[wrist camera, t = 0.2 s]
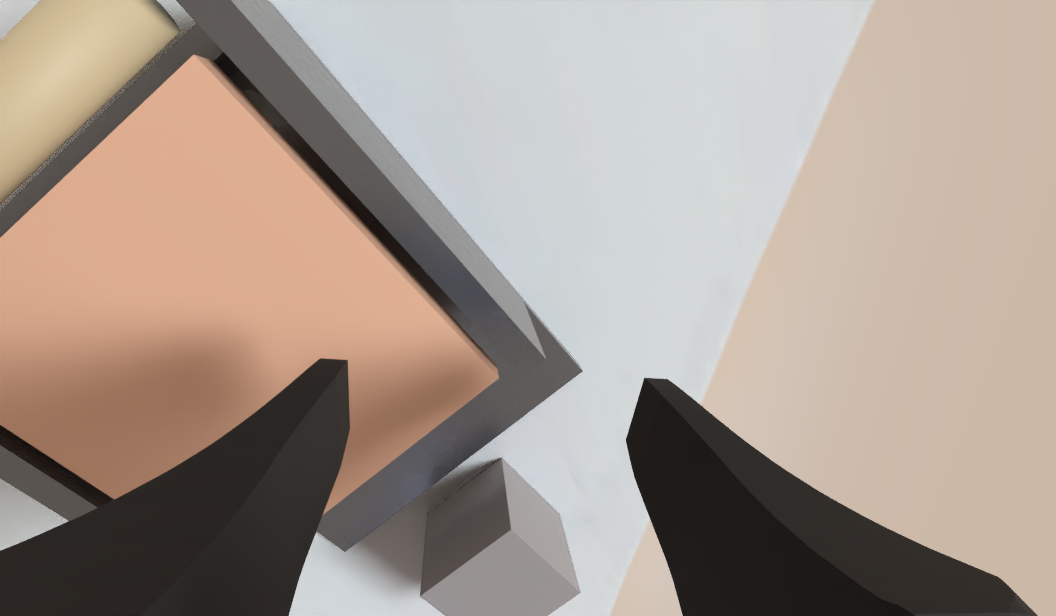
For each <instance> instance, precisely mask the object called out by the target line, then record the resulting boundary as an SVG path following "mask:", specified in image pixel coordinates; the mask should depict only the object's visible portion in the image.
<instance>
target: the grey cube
mask: <svg viewBox="0 0 1056 616" xmlns="http://www.w3.org/2000/svg"><path fill="white" fill-rule="evenodd" d="M579 593H580V589H579V585H578V581H577V578H576V574H575V570H574V566H573V563H572V559H571V555H570V551H569V548H568V544H567V540H566V536H565V533H564V529H563V525H562V521H561V518H560V514H559V513H558V512H557V511H556V510H555V509H554V508H553V507H552V506H551V505H550V504H549V503H548V502H547V501H546V500H545V499H544V498H543V497H542V496H541V495H540V494H539V493H538V492H537V491H536V490H535V489H534V488H532V487H531V486H530V485H529V484H528V483H527V482H526V481H525V480H524V479H523V478H522V477H521V476H520V475H519V474H518V473H517V472H516V471H515V470H514V469H513V468H512V467H511V466H510V465H509V464H508V463H507V462H506V461H505V460H504V459H503V458H500V459H499V460H498V461H496V462H495V463H494V464H492V465H491V466H490V467H488V468H487V469H486V470H484V471H483V472H482V473H480V474H479V475H478V476H476V477H475V478H474V479H472V480H471V481H470V482H468V483H467V484H466V485H464V486H463V487H462V488H460V489H459V490H458V491H456V492H455V493H454V494H452V495H451V496H450V497H448V498H447V499H446V500H444V501H443V502H442V503H440V504H439V505H438V506H436V507H435V508H434V509H432V510H431V511H430V512H428V513H427V522H426V533H425V545H424V556H423V568H422V579H421V591H420V597H422V598H423V599H424V600H426V601H427V602H428V603H429V604H431V605H432V606H433V607H435V608H436V609H437V610H439V611H440V612H441V613H443V614H444V615H445V616H548V615H549V614H551V613H552V612H553V611H555V610H556V609H558V608H559V607H561V606H562V605H563V604H565V603H566V602H568V601H569V600H571V599H572V598H573V597H575V596H576V595H578V594H579Z"/></svg>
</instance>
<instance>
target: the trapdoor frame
mask: <svg viewBox="0 0 1056 616" xmlns="http://www.w3.org/2000/svg"><path fill="white" fill-rule="evenodd" d="M176 1H177V2H178V3H179V4H180V5H181V6H182V7H183V8H184V9H185V11H186V12H187V13H188V14H189V15H190V16H191V17H192V18H193V19H194V20H195V21H196V22H197V24H196V25H195V26H194V27H192V28H191V29H190V30H189V31H188V32H187V33H186V34H185V35H184V36H183V37H182V38H181V39H180V40H179V41H178V42H177V43H176V44H175V45H174V46H173V47H172V48H171V49H170V50H168V51H167V52H166V53H165V54H164V55H163V56H162V57H161V58H160V59H159V60H158V61H157V62H156V63H155V64H154V65H153V66H152V67H151V68H150V69H149V70H148V71H147V72H145V73H144V74H143V75H142V76H141V77H140V78H139V79H138V80H137V81H136V82H135V83H134V84H133V85H132V86H131V87H130V88H129V89H128V90H127V91H126V92H125V93H124V94H122V95H121V96H120V97H119V98H118V99H117V100H116V101H115V102H114V103H113V104H112V105H111V106H110V107H109V108H108V109H107V110H106V111H105V112H104V113H103V114H102V115H101V116H99V117H98V118H97V119H96V120H95V121H94V122H93V123H92V124H91V125H90V126H89V127H88V128H87V129H86V130H85V131H84V132H83V133H82V134H81V135H80V136H79V137H78V138H76V139H75V140H74V141H73V142H72V143H71V144H70V145H69V146H68V147H67V148H66V149H65V150H64V151H63V152H62V153H61V154H60V155H59V156H58V157H57V158H56V159H55V160H53V161H52V162H51V163H50V164H49V165H48V166H47V167H46V168H45V169H44V170H43V171H42V172H41V173H40V174H39V175H38V176H37V177H36V178H35V179H34V180H33V181H32V182H30V183H29V184H28V185H27V186H26V187H25V188H24V189H23V190H22V191H21V192H20V193H19V194H18V195H17V196H16V197H15V198H14V199H13V200H12V201H11V202H10V203H9V204H7V205H6V206H5V207H4V208H3V209H2V210H1V211H0V238H1V237H2V236H3V235H4V234H5V233H6V232H7V231H8V230H9V229H10V228H11V227H12V226H13V225H14V224H15V223H16V222H18V221H19V220H20V219H21V218H22V217H23V216H24V215H25V214H26V213H27V212H28V211H29V210H30V209H31V208H32V207H33V206H34V205H35V204H37V203H38V202H39V201H40V200H41V199H42V198H43V197H44V196H45V195H46V194H47V193H48V192H49V191H50V190H51V189H52V188H53V187H54V186H56V185H57V184H58V183H59V182H60V181H61V180H62V179H63V178H64V177H65V176H66V175H67V174H68V173H69V172H70V171H71V170H72V169H73V168H74V167H76V166H77V165H78V164H79V163H80V162H81V161H82V160H83V159H84V158H85V157H86V156H87V155H88V154H89V153H90V152H91V151H92V150H93V149H95V148H96V147H97V146H98V145H99V144H100V143H101V142H102V141H103V140H104V139H105V138H106V137H107V136H108V135H109V134H110V133H111V132H112V131H114V130H115V129H116V128H117V127H118V126H119V125H120V124H121V123H122V122H123V121H124V120H125V119H126V118H127V117H128V116H129V115H130V114H131V113H133V112H134V111H135V110H136V109H137V108H138V107H139V106H140V105H141V104H142V103H143V102H144V101H145V100H146V99H147V98H148V97H149V96H150V95H152V94H153V93H154V92H155V91H156V90H157V89H158V88H159V87H160V86H161V85H162V84H163V83H164V82H165V81H166V80H167V79H168V78H169V77H170V76H172V75H173V74H174V73H175V72H176V71H177V70H178V69H179V68H180V67H181V66H182V65H183V64H184V63H185V62H186V61H187V60H188V59H189V58H191V57H192V56H193V55H197V56H200V57H203V58H207V59H210V60H213V61H214V62H215V63H216V64H217V66H218V67H219V68H220V69H221V70H222V71H223V72H224V73H225V74H226V75H227V76H228V77H229V78H230V79H231V81H232V82H233V83H234V84H235V85H236V86H237V87H238V88H239V89H240V90H241V91H242V92H243V93H244V94H245V96H246V97H247V98H248V99H249V100H250V101H251V102H252V103H253V104H254V105H255V106H256V107H257V108H258V109H259V111H260V112H261V113H262V114H263V115H264V116H265V117H266V118H267V119H268V120H269V121H270V122H271V123H272V124H273V126H274V127H275V128H276V129H277V130H278V131H279V132H280V133H281V134H282V135H283V136H284V137H285V138H286V139H287V141H288V142H289V143H290V144H291V145H292V146H293V147H294V148H295V149H296V150H297V151H298V152H299V153H300V154H301V156H302V157H303V158H304V159H305V160H306V161H307V162H308V163H309V164H310V165H311V166H312V167H313V168H314V169H315V171H316V172H317V173H318V174H319V175H320V176H321V177H322V178H323V179H324V180H325V181H326V182H327V183H328V184H329V186H330V187H331V188H332V189H333V190H334V191H335V192H336V193H337V194H338V195H339V196H340V197H341V198H342V199H343V201H344V202H345V203H346V204H347V205H348V206H349V207H350V208H351V209H352V210H353V211H354V212H355V213H356V214H357V216H358V217H359V218H360V219H361V220H362V221H363V222H364V223H365V224H366V225H367V226H368V227H369V228H370V229H371V231H372V232H373V233H374V234H375V235H376V236H377V237H378V238H379V239H380V240H381V241H382V242H383V243H384V244H385V246H386V247H387V248H388V249H389V250H390V251H391V252H392V253H393V254H394V255H395V256H396V257H397V258H398V259H399V261H400V262H401V263H402V264H403V265H404V266H405V267H406V268H407V269H408V270H409V271H410V272H411V273H412V274H413V276H414V277H415V278H416V279H417V280H418V281H419V282H420V283H421V284H422V285H423V286H424V287H425V288H426V289H427V291H428V292H429V293H430V294H431V295H432V296H433V297H434V298H435V299H436V300H437V301H438V302H439V303H440V304H441V306H442V307H443V308H444V309H445V310H446V311H447V312H448V313H449V314H450V315H451V316H452V317H453V318H454V319H455V321H456V322H457V323H458V324H459V325H460V326H461V327H462V328H463V329H464V330H465V331H466V332H467V333H468V334H469V336H470V337H471V338H472V339H473V340H474V341H475V342H476V343H477V344H478V345H479V346H480V347H481V348H482V349H483V351H484V352H485V353H486V354H487V355H488V356H489V357H490V358H491V359H492V360H493V361H494V362H495V363H496V364H497V368H498V374H499V379H497V380H496V381H495V382H494V383H492V384H491V385H490V386H488V387H487V388H486V389H485V390H483V391H482V392H481V393H479V394H478V395H477V396H476V397H474V398H473V399H472V400H470V401H469V402H468V403H467V404H465V405H464V406H463V407H461V408H460V409H459V410H457V411H456V412H455V413H454V414H452V415H451V416H450V417H448V418H447V419H446V420H445V421H443V422H442V423H441V424H439V425H438V426H437V427H436V428H434V429H433V430H432V431H430V432H429V433H428V434H427V435H425V436H424V437H423V438H421V439H420V440H419V441H418V442H416V443H415V444H414V445H412V446H411V447H410V448H409V449H407V450H406V451H405V452H403V453H402V454H401V455H399V456H398V457H397V458H396V459H394V460H393V461H392V462H390V463H389V464H388V465H387V466H385V467H384V468H383V469H381V470H380V471H379V472H378V473H376V474H375V475H374V476H372V477H371V478H370V479H369V480H367V481H366V482H365V483H363V484H362V485H361V486H360V487H358V488H357V489H356V490H354V491H353V492H352V493H351V494H349V495H348V496H347V497H345V498H344V499H343V500H341V501H340V502H339V503H338V504H336V505H335V506H334V507H332V508H331V509H330V510H329V511H327V512H326V513H325V514H323V515H322V518H321V520H320V523H319V526H318V528H317V531H318V532H319V533H320V534H322V535H323V536H324V537H326V538H327V539H328V540H330V541H331V542H332V543H334V544H335V545H336V546H338V547H339V548H340V549H342V550H343V551H344V552H345V551H347V550H348V549H349V548H351V547H352V546H353V545H355V544H356V543H357V542H358V541H360V540H361V539H362V538H364V537H365V536H366V535H368V534H369V533H370V532H372V531H373V530H374V529H376V528H377V527H378V526H380V525H381V524H382V523H383V522H385V521H386V520H387V519H389V518H390V517H391V516H393V515H394V514H395V513H397V512H398V511H399V510H401V509H402V508H403V507H405V506H406V505H407V504H408V503H410V502H411V501H412V500H414V499H415V498H416V497H418V496H419V495H420V494H422V493H423V492H424V491H426V490H427V489H428V488H430V487H431V486H432V485H433V484H435V483H436V482H437V481H439V480H440V479H441V478H443V477H444V476H445V475H447V474H448V473H449V472H451V471H452V470H453V469H455V468H456V467H457V466H458V465H460V464H461V463H462V462H464V461H465V460H466V459H468V458H469V457H470V456H472V455H473V454H474V453H476V452H477V451H478V450H480V449H481V448H482V447H483V446H485V445H486V444H487V443H489V442H490V441H491V440H493V439H494V438H495V437H497V436H498V435H499V434H501V433H502V432H503V431H505V430H506V429H507V428H508V427H510V426H511V425H512V424H514V423H515V422H516V421H518V420H519V419H520V418H522V417H523V416H524V415H526V414H527V413H528V412H529V411H531V410H532V409H533V408H535V407H536V406H537V405H539V404H540V403H541V402H543V401H544V400H545V399H547V398H548V397H549V396H551V395H552V394H553V393H554V392H556V391H557V390H558V389H560V388H561V387H562V386H564V385H565V384H566V383H568V382H569V381H570V380H572V379H573V378H574V377H576V376H577V375H578V374H579V373H581V372H582V369H581V367H580V365H579V364H578V363H577V362H576V361H575V360H574V358H573V357H572V356H571V355H570V354H569V352H568V351H567V350H566V349H565V348H564V347H563V345H562V344H561V343H560V342H559V341H558V340H557V338H556V337H555V336H554V335H553V334H552V332H551V331H550V330H549V329H548V328H547V327H546V325H545V324H544V323H543V322H542V321H541V320H540V318H539V317H538V316H537V315H536V314H535V312H534V311H533V310H532V309H531V308H530V307H529V305H528V304H527V303H526V302H525V301H524V300H523V298H522V297H521V296H520V295H519V294H518V292H517V291H516V290H515V289H514V288H513V287H512V285H511V284H510V283H509V282H508V281H507V280H506V278H505V277H504V276H503V275H502V274H501V272H500V271H499V270H498V269H497V268H496V267H495V265H494V264H493V263H492V262H491V261H490V260H489V258H488V257H487V256H486V255H485V254H484V252H483V251H482V250H481V249H480V248H479V247H478V245H477V244H476V243H475V242H474V241H473V240H472V238H471V237H470V236H469V235H468V234H467V232H466V231H465V230H464V229H463V228H462V227H461V225H460V224H459V223H458V222H457V221H456V220H455V218H454V217H453V216H452V215H451V214H450V212H449V211H448V210H447V209H446V208H445V207H444V205H443V204H442V203H441V202H440V201H439V200H438V198H437V197H436V196H435V195H434V194H433V192H432V191H431V190H430V189H429V188H428V187H427V185H426V184H425V183H424V182H423V181H422V180H421V178H420V177H419V176H418V175H417V174H416V172H415V171H414V170H413V169H412V168H411V167H410V165H409V164H408V163H407V162H406V161H405V160H404V158H403V157H402V156H401V155H400V154H399V153H398V151H397V150H396V149H395V148H394V147H393V145H392V144H391V143H390V142H389V141H388V140H387V138H386V137H385V136H384V135H383V134H382V133H381V131H380V130H379V129H378V128H377V127H376V125H375V124H374V123H373V122H372V121H371V120H370V118H369V117H368V116H367V115H366V114H365V113H364V111H363V110H362V109H361V108H360V107H359V105H358V104H357V103H356V102H355V101H354V100H353V98H352V97H351V96H350V95H349V94H348V93H347V91H346V90H345V89H344V88H343V87H342V85H341V84H340V83H339V82H338V81H337V80H336V78H335V77H334V76H333V75H332V74H331V73H330V71H329V70H328V69H327V68H326V67H325V65H324V64H323V63H322V62H321V61H320V60H319V58H318V57H317V56H316V55H315V54H314V53H313V51H312V50H311V49H310V48H309V47H308V45H307V44H306V43H305V42H304V41H303V40H302V38H301V37H300V36H299V35H298V34H297V33H296V31H295V30H294V29H293V28H292V27H291V25H290V24H289V23H288V22H287V21H286V20H285V18H284V17H283V16H282V15H281V14H280V13H279V11H278V10H277V9H276V8H275V7H274V5H273V4H272V3H271V2H269V1H268V0H176ZM0 478H1V479H2V480H4V481H6V482H7V483H9V484H11V485H12V486H14V487H15V488H17V489H19V490H20V491H22V492H24V493H25V494H27V495H28V496H30V497H32V498H33V499H35V500H36V501H38V502H40V503H41V504H43V505H45V506H46V507H48V508H49V509H51V510H53V511H54V512H56V513H58V514H59V515H61V516H62V517H64V518H66V519H67V520H69V521H71V520H73V519H75V518H78V517H80V516H82V515H84V514H86V513H88V512H90V511H92V510H94V509H96V508H98V507H101V506H103V505H105V504H107V503H109V502H111V501H113V500H114V499H113V498H111V497H110V496H108V495H107V494H105V493H104V492H102V491H101V490H99V489H98V488H96V487H95V486H93V485H92V484H90V483H88V482H87V481H85V480H84V479H82V478H81V477H79V476H78V475H76V474H75V473H73V472H72V471H70V470H69V469H67V468H66V467H64V466H63V465H61V464H59V463H58V462H56V461H55V460H53V459H52V458H50V457H49V456H47V455H46V454H44V453H43V452H41V451H40V450H38V449H37V448H35V447H34V446H32V445H30V444H29V443H27V442H26V441H24V440H23V439H21V438H20V437H18V436H17V435H15V434H14V433H12V432H11V431H9V430H8V429H6V428H5V427H3V426H1V425H0Z"/></svg>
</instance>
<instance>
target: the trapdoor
mask: <svg viewBox="0 0 1056 616" xmlns="http://www.w3.org/2000/svg"><path fill="white" fill-rule="evenodd" d="M178 33H179V28H178V26H177V24H176V23H175V21H174V20H173V18H172V17H171V16H170V15H169V13H168V12H167V11H166V10H165V9H164V8H163V7H162V6H161V4H160V3H159V2H158V1H157V0H41V1H40V2H39V3H38V4H37V5H36V6H35V7H34V8H33V9H32V10H31V11H30V12H29V13H28V14H27V15H26V16H25V17H24V18H23V19H22V20H21V21H20V22H19V23H18V24H17V25H16V26H15V27H14V28H13V29H12V30H11V31H10V32H9V33H8V34H7V35H6V36H5V37H4V38H3V39H2V40H1V41H0V204H1V203H2V202H3V201H4V200H5V199H6V198H7V197H8V196H9V195H10V194H11V193H12V192H13V191H14V190H16V189H17V188H18V187H19V186H20V185H21V184H22V183H23V182H24V181H25V180H26V179H27V178H28V177H29V176H30V175H31V174H32V173H33V172H34V171H35V170H36V169H37V168H38V167H40V166H41V165H42V164H43V163H44V162H45V161H46V160H47V159H48V158H49V157H50V156H51V155H52V154H53V153H54V152H55V151H56V150H57V149H58V148H59V147H60V146H61V145H62V144H63V143H65V142H66V141H67V140H68V139H69V138H70V137H71V136H72V135H73V134H74V133H75V132H76V131H77V130H78V129H79V128H80V127H81V126H82V125H83V124H84V123H85V122H86V121H87V120H89V119H90V118H91V117H92V116H93V115H94V114H95V113H96V112H97V111H98V110H99V109H100V108H101V107H102V106H103V105H104V104H105V103H106V102H107V101H108V100H109V99H110V98H111V97H113V96H114V95H115V94H116V93H117V92H118V91H119V90H120V89H121V88H122V87H123V86H124V85H125V84H126V83H127V82H128V81H129V80H130V79H131V78H132V77H133V76H134V75H135V74H136V73H138V72H139V71H140V70H141V69H142V68H143V67H144V66H145V65H146V64H147V63H148V62H149V61H150V60H151V59H152V58H153V57H154V56H155V55H156V54H157V53H158V52H159V51H160V50H162V49H163V48H164V47H165V46H166V45H167V44H168V43H169V42H170V41H171V40H172V39H173V38H174V37H175V36H176V35H177V34H178ZM320 358H324V359H340V360H348V382H349V413H350V431H349V435H348V439H347V444H346V448H345V452H344V456H343V460H342V464H341V468H340V471H339V473H338V476H337V479H336V481H335V484H334V487H333V489H332V492H331V494H330V497H329V500H328V502H327V505H326V507H325V510H324V513H323V514H325V513H326V512H327V511H329V510H330V509H331V508H332V507H334V506H335V505H336V504H338V503H339V502H340V501H341V500H343V499H344V498H345V497H347V496H348V495H349V494H351V493H352V492H353V491H354V490H356V489H357V488H358V487H360V486H361V485H362V484H363V483H365V482H366V481H367V480H369V479H370V478H371V477H372V476H374V475H375V474H376V473H378V472H379V471H380V470H381V469H383V468H384V467H385V466H387V465H388V464H389V463H390V462H392V461H393V460H394V459H396V458H397V457H398V456H399V455H401V454H402V453H403V452H405V451H406V450H407V449H409V448H410V447H411V446H412V445H414V444H415V443H416V442H418V441H419V440H420V439H421V438H423V437H424V436H425V435H427V434H428V433H429V432H430V431H432V430H433V429H434V428H436V427H437V426H438V425H439V424H441V423H442V422H443V421H445V420H446V419H447V418H448V417H450V416H451V415H452V414H454V413H455V412H456V411H457V410H459V409H460V408H461V407H463V406H464V405H465V404H467V403H468V402H469V401H470V400H472V399H473V398H474V397H476V396H477V395H478V394H479V393H481V392H482V391H483V390H485V389H486V388H487V387H488V386H490V385H491V384H492V383H494V382H495V381H496V380H497V379H499V374H498V368H497V364H496V363H495V362H494V361H493V360H492V359H491V358H490V357H489V356H488V355H487V354H486V353H485V352H484V351H483V349H482V348H481V347H480V346H479V345H478V344H477V343H476V342H475V341H474V340H473V339H472V338H471V337H470V336H469V334H468V333H467V332H466V331H465V330H464V329H463V328H462V327H461V326H460V325H459V324H458V323H457V322H456V321H455V319H454V318H453V317H452V316H451V315H450V314H449V313H448V312H447V311H446V310H445V309H444V308H443V307H442V306H441V304H440V303H439V302H438V301H437V300H436V299H435V298H434V297H433V296H432V295H431V294H430V293H429V292H428V291H427V289H426V288H425V287H424V286H423V285H422V284H421V283H420V282H419V281H418V280H417V279H416V278H415V277H414V276H413V274H412V273H411V272H410V271H409V270H408V269H407V268H406V267H405V266H404V265H403V264H402V263H401V262H400V261H399V259H398V258H397V257H396V256H395V255H394V254H393V253H392V252H391V251H390V250H389V249H388V248H387V247H386V246H385V244H384V243H383V242H382V241H381V240H380V239H379V238H378V237H377V236H376V235H375V234H374V233H373V232H372V231H371V229H370V228H369V227H368V226H367V225H366V224H365V223H364V222H363V221H362V220H361V219H360V218H359V217H358V216H357V214H356V213H355V212H354V211H353V210H352V209H351V208H350V207H349V206H348V205H347V204H346V203H345V202H344V201H343V199H342V198H341V197H340V196H339V195H338V194H337V193H336V192H335V191H334V190H333V189H332V188H331V187H330V186H329V184H328V183H327V182H326V181H325V180H324V179H323V178H322V177H321V176H320V175H319V174H318V173H317V172H316V171H315V169H314V168H313V167H312V166H311V165H310V164H309V163H308V162H307V161H306V160H305V159H304V158H303V157H302V156H301V154H300V153H299V152H298V151H297V150H296V149H295V148H294V147H293V146H292V145H291V144H290V143H289V142H288V141H287V139H286V138H285V137H284V136H283V135H282V134H281V133H280V132H279V131H278V130H277V129H276V128H275V127H274V126H273V124H272V123H271V122H270V121H269V120H268V119H267V118H266V117H265V116H264V115H263V114H262V113H261V112H260V111H259V109H258V108H257V107H256V106H255V105H254V104H253V103H252V102H251V101H250V100H249V99H248V98H247V97H246V96H245V94H244V93H243V92H242V91H241V90H240V89H239V88H238V87H237V86H236V85H235V84H234V83H233V82H232V81H231V79H230V78H229V77H228V76H227V75H226V74H225V73H224V72H223V71H222V70H221V69H220V68H219V67H218V66H217V64H216V63H215V62H214V61H213V60H210V59H207V58H203V57H200V56H197V55H193V56H192V57H191V58H189V59H188V60H187V61H186V62H185V63H184V64H183V65H182V66H181V67H180V68H179V69H178V70H177V71H176V72H175V73H174V74H173V75H172V76H170V77H169V78H168V79H167V80H166V81H165V82H164V83H163V84H162V85H161V86H160V87H159V88H158V89H157V90H156V91H155V92H154V93H153V94H152V95H150V96H149V97H148V98H147V99H146V100H145V101H144V102H143V103H142V104H141V105H140V106H139V107H138V108H137V109H136V110H135V111H134V112H133V113H131V114H130V115H129V116H128V117H127V118H126V119H125V120H124V121H123V122H122V123H121V124H120V125H119V126H118V127H117V128H116V129H115V130H114V131H112V132H111V133H110V134H109V135H108V136H107V137H106V138H105V139H104V140H103V141H102V142H101V143H100V144H99V145H98V146H97V147H96V148H95V149H93V150H92V151H91V152H90V153H89V154H88V155H87V156H86V157H85V158H84V159H83V160H82V161H81V162H80V163H79V164H78V165H77V166H76V167H74V168H73V169H72V170H71V171H70V172H69V173H68V174H67V175H66V176H65V177H64V178H63V179H62V180H61V181H60V182H59V183H58V184H57V185H56V186H54V187H53V188H52V189H51V190H50V191H49V192H48V193H47V194H46V195H45V196H44V197H43V198H42V199H41V200H40V201H39V202H38V203H37V204H35V205H34V206H33V207H32V208H31V209H30V210H29V211H28V212H27V213H26V214H25V215H24V216H23V217H22V218H21V219H20V220H19V221H18V222H16V223H15V224H14V225H13V226H12V227H11V228H10V229H9V230H8V231H7V232H6V233H5V234H4V235H3V236H2V237H1V238H0V425H1V426H3V427H5V428H6V429H8V430H9V431H11V432H12V433H14V434H15V435H17V436H18V437H20V438H21V439H23V440H24V441H26V442H27V443H29V444H30V445H32V446H34V447H35V448H37V449H38V450H40V451H41V452H43V453H44V454H46V455H47V456H49V457H50V458H52V459H53V460H55V461H56V462H58V463H59V464H61V465H63V466H64V467H66V468H67V469H69V470H70V471H72V472H73V473H75V474H76V475H78V476H79V477H81V478H82V479H84V480H85V481H87V482H88V483H90V484H92V485H93V486H95V487H96V488H98V489H99V490H101V491H102V492H104V493H105V494H107V495H108V496H110V497H111V498H113V499H114V500H115V499H116V498H118V497H120V496H122V495H124V494H126V493H128V492H130V491H131V490H133V489H135V488H137V487H139V486H141V485H143V484H144V483H146V482H148V481H150V480H152V479H154V478H156V477H158V476H159V475H161V474H163V473H165V472H167V471H168V470H170V469H172V468H174V467H175V466H177V465H179V464H180V463H182V462H183V461H185V460H187V459H188V458H190V457H192V456H193V455H195V454H197V453H198V452H200V451H201V450H203V449H204V448H206V447H207V446H209V445H211V444H212V443H214V442H215V441H217V440H218V439H219V438H221V437H222V436H224V435H225V434H226V433H228V432H229V431H231V430H232V429H233V428H235V427H236V426H237V425H239V424H240V423H241V422H243V421H244V420H246V419H247V418H248V417H250V416H251V415H252V414H254V413H255V412H256V411H257V410H259V409H260V408H261V407H262V406H264V405H265V404H266V403H267V402H269V401H270V400H271V399H272V398H273V397H275V396H276V395H277V394H278V393H280V392H281V391H282V390H283V389H284V388H286V387H287V386H288V385H289V384H290V383H291V382H293V381H294V380H295V379H296V378H297V377H298V376H300V375H301V374H302V373H303V372H304V371H305V370H307V369H308V368H309V367H310V366H311V365H313V364H314V363H315V362H316V361H317V360H319V359H320Z"/></svg>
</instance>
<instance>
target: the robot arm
mask: <svg viewBox="0 0 1056 616" xmlns="http://www.w3.org/2000/svg"><path fill="white" fill-rule="evenodd" d="M349 431H350V413H349V382H348V360H340V359H324V358H320V359H319V360H317V361H316V362H315V363H314V364H313V365H311V366H310V367H309V368H308V369H307V370H305V371H304V372H303V373H302V374H301V375H300V376H298V377H297V378H296V379H295V380H294V381H293V382H291V383H290V384H289V385H288V386H287V387H286V388H284V389H283V390H282V391H281V392H280V393H278V394H277V395H276V396H275V397H273V398H272V399H271V400H270V401H269V402H267V403H266V404H265V405H264V406H262V407H261V408H260V409H259V410H257V411H256V412H255V413H254V414H252V415H251V416H250V417H248V418H247V419H246V420H244V421H243V422H241V423H240V424H239V425H237V426H236V427H235V428H233V429H232V430H231V431H229V432H228V433H226V434H225V435H224V436H222V437H221V438H219V439H218V440H217V441H215V442H214V443H212V444H211V445H209V446H207V447H206V448H204V449H203V450H201V451H200V452H198V453H197V454H195V455H193V456H192V457H190V458H188V459H187V460H185V461H183V462H182V463H180V464H179V465H177V466H175V467H174V468H172V469H170V470H168V471H167V472H165V473H163V474H161V475H159V476H158V477H156V478H154V479H152V480H150V481H148V482H146V483H144V484H143V485H141V486H139V487H137V488H135V489H133V490H131V491H130V492H128V493H126V494H124V495H122V496H120V497H118V498H116V499H115V500H113V501H111V502H109V503H107V504H105V505H103V506H101V507H98V508H96V509H94V510H92V511H90V512H88V513H86V514H84V515H82V516H80V517H78V518H75V519H73V520H71V521H69V522H67V523H64V524H62V525H60V526H58V527H55V528H53V529H51V530H49V531H47V532H44V533H42V534H40V535H38V536H35V537H33V538H31V539H28V540H26V541H23V542H21V543H19V544H16V545H14V546H11V547H9V548H6V549H4V550H1V551H0V616H289V612H290V608H291V605H292V601H293V598H294V594H295V590H296V587H297V583H298V580H299V577H300V574H301V571H302V568H303V565H304V562H305V559H306V557H307V554H308V551H309V549H310V546H311V544H312V541H313V538H314V536H315V533H316V531H317V528H318V526H319V523H320V520H321V518H322V515H323V513H324V510H325V507H326V505H327V502H328V500H329V497H330V494H331V492H332V489H333V487H334V484H335V481H336V479H337V476H338V473H339V471H340V468H341V464H342V460H343V456H344V452H345V448H346V444H347V439H348V435H349ZM626 443H627V447H628V452H629V456H630V461H631V465H632V469H633V473H634V477H635V480H636V482H637V485H638V488H639V490H640V493H641V496H642V498H643V501H644V504H645V506H646V509H647V512H648V514H649V517H650V519H651V522H652V524H653V527H654V529H655V532H656V534H657V537H658V540H659V542H660V545H661V548H662V550H663V553H664V555H665V558H666V561H667V564H668V566H669V569H670V572H671V575H672V578H673V581H674V585H675V589H676V592H677V596H678V600H679V603H680V607H681V611H682V614H683V616H1037V615H1036V614H1035V613H1034V612H1033V610H1032V609H1031V608H1029V606H1027V604H1026V603H1025V602H1024V601H1023V600H1022V599H1021V598H1020V597H1019V596H1018V595H1017V594H1016V593H1015V592H1014V591H1013V590H1012V589H1011V588H1010V587H1009V586H1008V585H1007V584H1006V583H1005V582H1003V581H1002V580H1001V579H1000V578H999V577H997V576H994V575H992V574H990V573H987V572H984V571H982V570H980V569H978V568H975V567H973V566H970V565H968V564H966V563H963V562H961V561H958V560H956V559H953V558H951V557H949V556H946V555H944V554H941V553H939V552H937V551H934V550H932V549H930V548H927V547H925V546H923V545H921V544H919V543H917V542H915V541H913V540H910V539H908V538H906V537H904V536H902V535H900V534H898V533H896V532H894V531H891V530H889V529H887V528H885V527H883V526H881V525H879V524H877V523H875V522H873V521H872V520H869V519H868V518H866V517H864V516H862V515H860V514H858V513H856V512H855V511H853V510H851V509H849V508H847V507H846V506H844V505H842V504H840V503H838V502H837V501H834V500H833V499H831V498H829V497H828V496H826V495H824V494H823V493H821V492H819V491H817V490H816V489H814V488H812V487H811V486H810V485H808V484H806V483H805V482H803V481H802V480H800V479H799V478H797V477H795V476H794V475H792V474H791V473H789V472H787V471H786V470H785V469H783V468H782V467H780V466H779V465H777V464H776V463H774V462H773V461H771V460H770V459H769V458H767V457H766V456H765V455H763V454H762V453H760V452H759V451H758V450H756V449H755V448H754V447H752V446H751V445H749V444H748V443H747V442H745V441H744V440H743V439H742V438H740V437H739V436H738V435H736V434H735V433H734V432H733V431H731V430H730V429H729V428H728V427H726V426H725V425H724V424H723V423H721V422H720V421H719V420H718V419H717V418H715V417H714V416H713V415H712V414H710V413H709V412H708V411H707V410H706V409H704V408H703V407H702V406H701V405H700V404H698V403H697V402H696V401H695V400H693V399H692V398H691V397H690V396H689V395H687V394H686V393H685V392H684V391H682V390H681V389H680V388H679V387H677V386H676V385H675V384H673V383H672V382H670V381H669V380H668V379H653V378H644V381H643V385H642V388H641V391H640V395H639V398H638V401H637V405H636V408H635V411H634V415H633V418H632V422H631V425H630V428H629V432H628V435H627V438H626Z"/></svg>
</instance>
